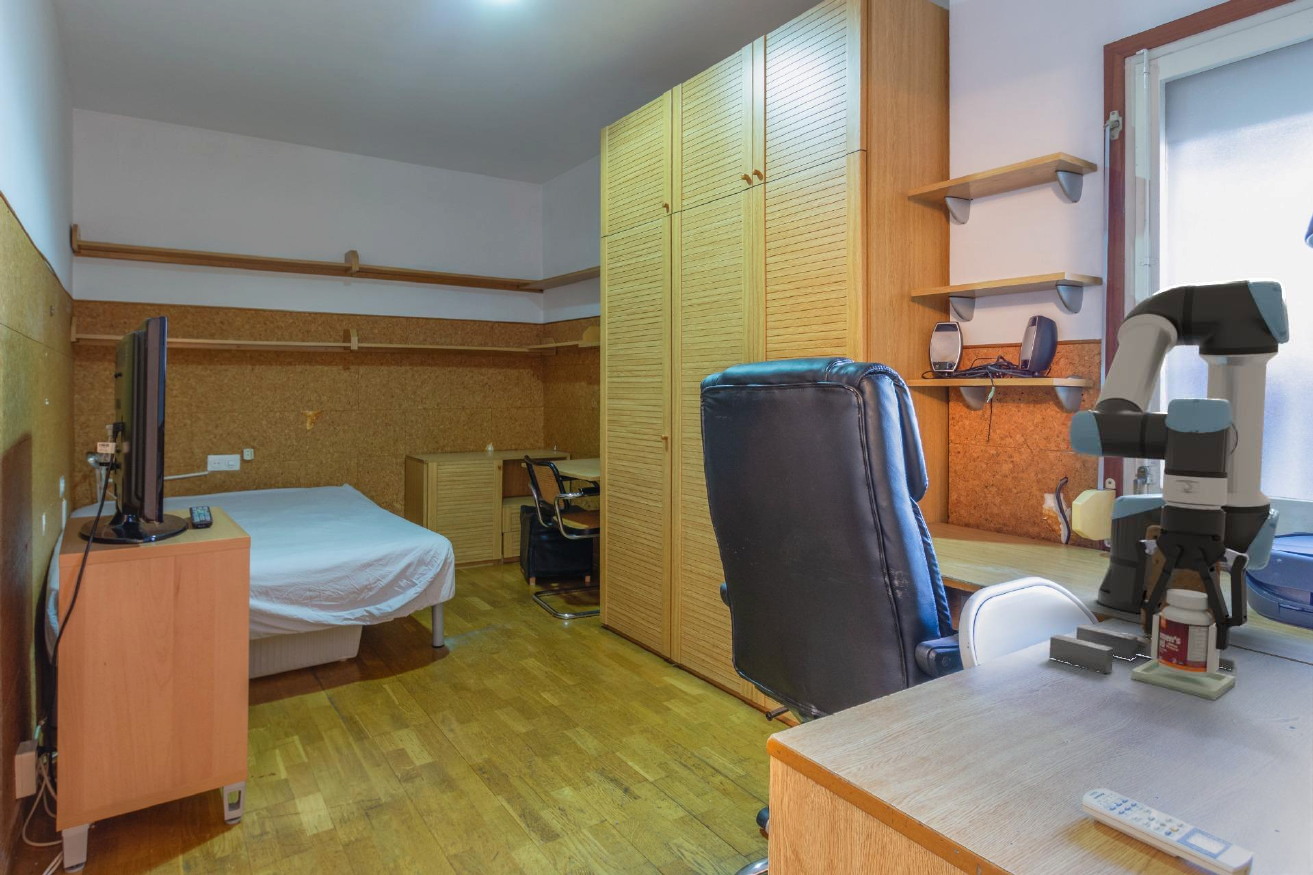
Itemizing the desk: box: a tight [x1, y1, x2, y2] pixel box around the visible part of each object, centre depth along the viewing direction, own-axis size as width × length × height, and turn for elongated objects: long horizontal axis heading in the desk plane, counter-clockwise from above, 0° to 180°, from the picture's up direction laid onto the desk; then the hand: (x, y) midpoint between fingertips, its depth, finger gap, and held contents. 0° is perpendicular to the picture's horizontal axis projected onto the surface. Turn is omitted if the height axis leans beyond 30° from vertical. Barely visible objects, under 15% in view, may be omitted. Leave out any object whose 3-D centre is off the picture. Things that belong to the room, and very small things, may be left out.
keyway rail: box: [1219, 655, 1236, 671], centre depth 120 cm, size 1×15×2 cm, turn 39°
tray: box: [1131, 659, 1236, 701], centre depth 108 cm, size 10×10×1 cm
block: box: [1140, 526, 1221, 638], centre depth 128 cm, size 11×8×20 cm
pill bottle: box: [1158, 589, 1213, 676], centre depth 108 cm, size 6×6×11 cm
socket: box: [1049, 624, 1137, 674], centre depth 118 cm, size 12×8×4 cm, turn 130°
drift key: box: [1121, 632, 1152, 657], centre depth 120 cm, size 3×9×3 cm, turn 40°
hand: (1183, 663), depth 108 cm, fingers closed on pill bottle, 6 cm apart
